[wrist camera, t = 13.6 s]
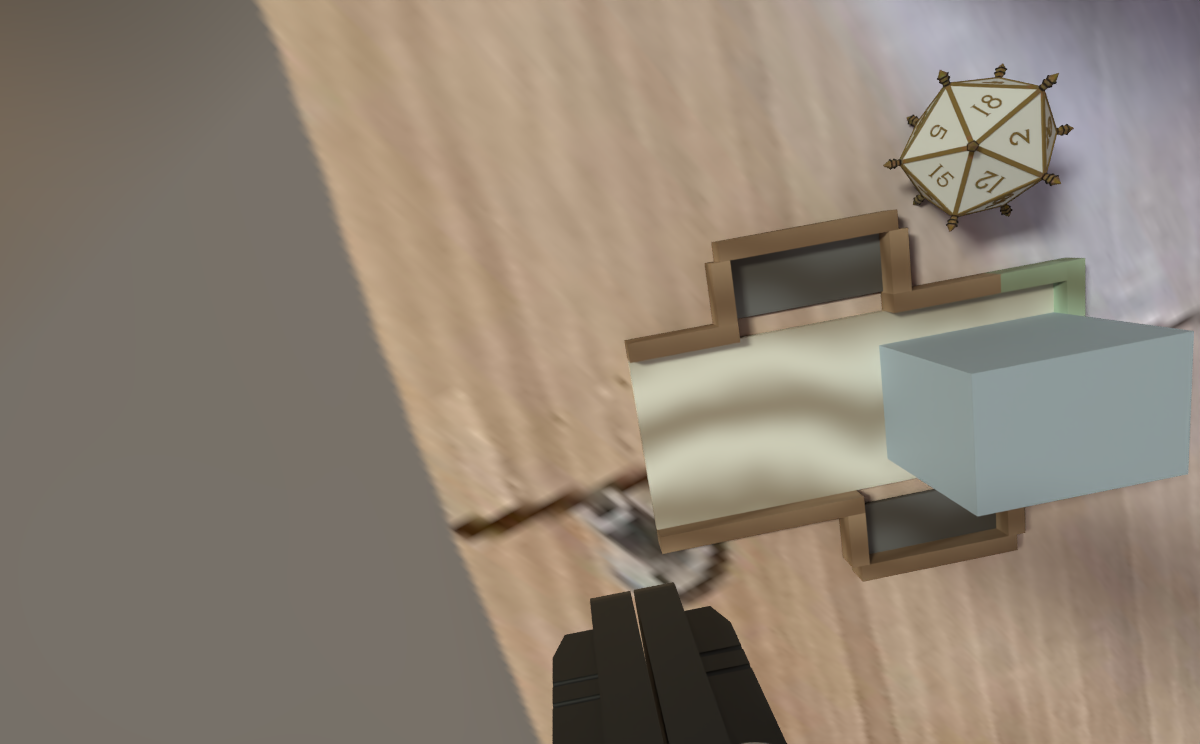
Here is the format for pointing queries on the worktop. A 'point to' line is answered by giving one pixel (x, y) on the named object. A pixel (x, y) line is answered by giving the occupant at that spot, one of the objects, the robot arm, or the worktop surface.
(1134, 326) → the brick
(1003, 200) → the game die
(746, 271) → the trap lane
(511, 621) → the worktop surface
